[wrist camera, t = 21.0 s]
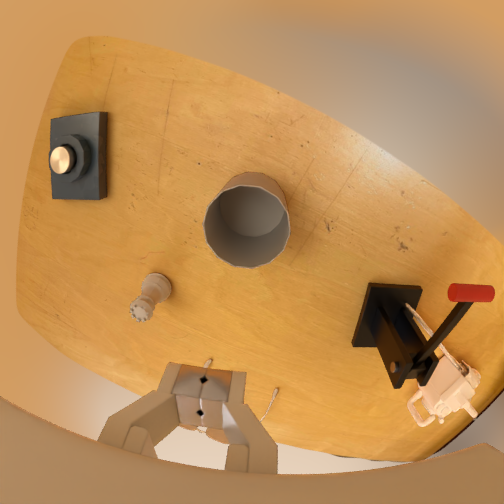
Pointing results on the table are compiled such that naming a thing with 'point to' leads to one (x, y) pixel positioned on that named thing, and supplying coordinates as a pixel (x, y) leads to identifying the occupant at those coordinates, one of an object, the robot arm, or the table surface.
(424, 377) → the press bracket
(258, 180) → the cup
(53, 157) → the gold dial knob
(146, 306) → the rook chess piece
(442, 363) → the chainsaw
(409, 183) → the table surface
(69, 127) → the button block
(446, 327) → the press lever
